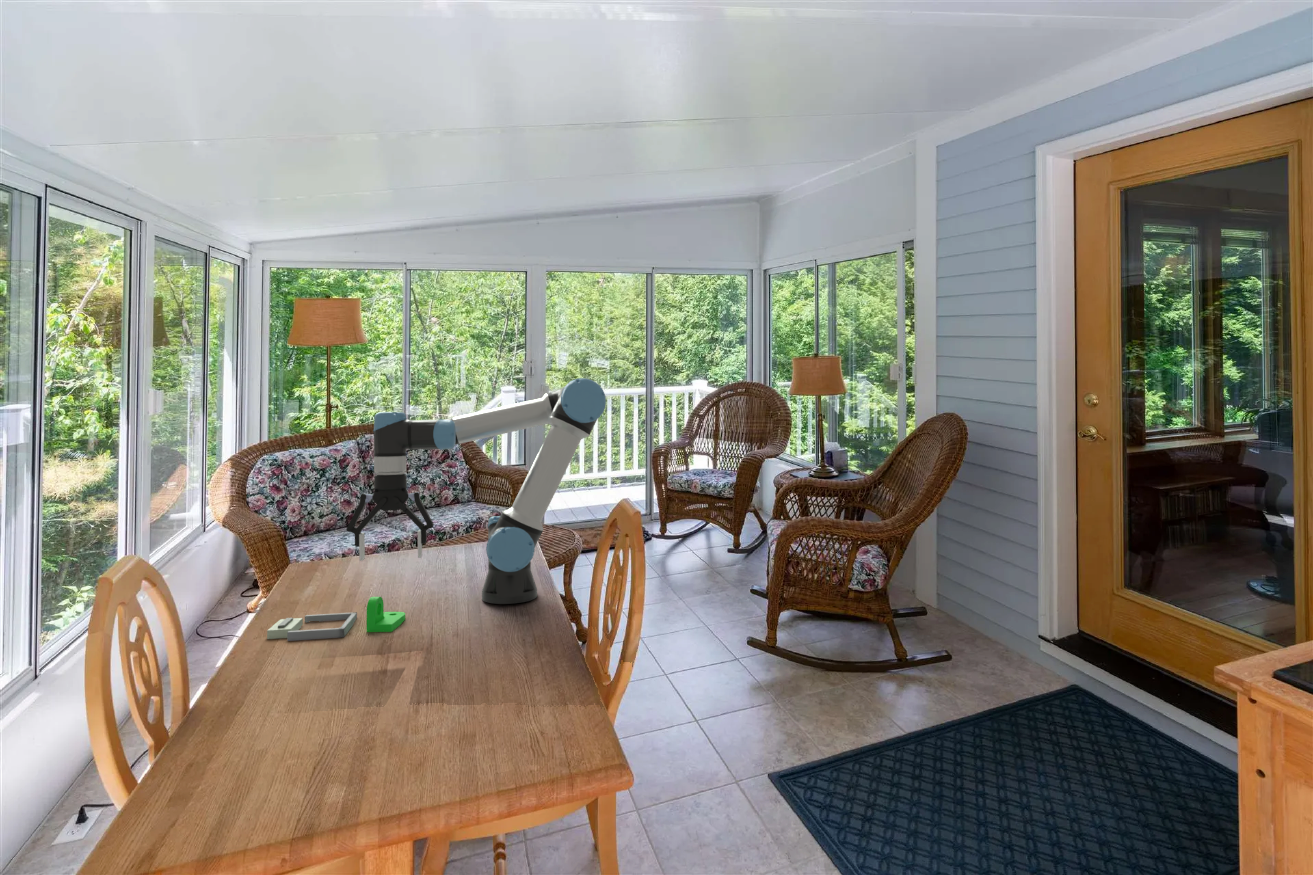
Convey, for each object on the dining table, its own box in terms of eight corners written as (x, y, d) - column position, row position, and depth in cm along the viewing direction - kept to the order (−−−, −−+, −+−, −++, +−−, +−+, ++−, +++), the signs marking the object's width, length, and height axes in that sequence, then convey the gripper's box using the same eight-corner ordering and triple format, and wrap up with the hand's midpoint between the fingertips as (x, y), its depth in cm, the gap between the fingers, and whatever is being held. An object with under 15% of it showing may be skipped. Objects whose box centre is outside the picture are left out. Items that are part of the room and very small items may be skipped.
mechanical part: (391, 632, 160) (391, 599, 160) (366, 632, 160) (366, 599, 160) (408, 619, 172) (408, 588, 172) (385, 619, 172) (385, 588, 172)
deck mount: (356, 619, 171) (356, 609, 171) (343, 637, 156) (343, 626, 156) (283, 624, 167) (283, 614, 167) (263, 642, 152) (263, 631, 152)
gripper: (443, 471, 173) (444, 553, 173) (339, 474, 167) (340, 558, 167) (441, 473, 166) (442, 557, 166) (332, 475, 160) (333, 563, 160)
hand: (391, 558), depth 166 cm, fingers open, 13 cm apart
